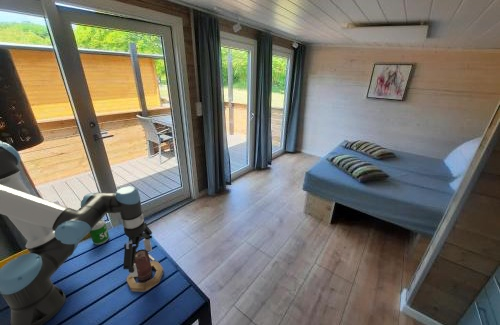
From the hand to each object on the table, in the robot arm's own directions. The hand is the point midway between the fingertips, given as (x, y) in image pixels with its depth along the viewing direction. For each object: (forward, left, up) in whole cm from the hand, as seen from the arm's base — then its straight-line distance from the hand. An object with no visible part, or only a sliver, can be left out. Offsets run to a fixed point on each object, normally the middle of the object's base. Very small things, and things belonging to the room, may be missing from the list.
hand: (142, 262), depth 93 cm
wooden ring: (0, 0, -9) cm, 9 cm away
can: (0, 0, -9) cm, 9 cm away
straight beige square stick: (-4, +12, -9) cm, 15 cm away
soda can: (-34, +22, -9) cm, 41 cm away
